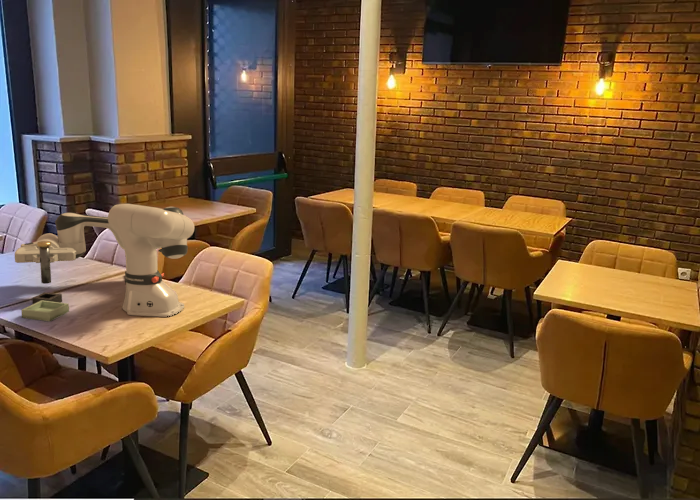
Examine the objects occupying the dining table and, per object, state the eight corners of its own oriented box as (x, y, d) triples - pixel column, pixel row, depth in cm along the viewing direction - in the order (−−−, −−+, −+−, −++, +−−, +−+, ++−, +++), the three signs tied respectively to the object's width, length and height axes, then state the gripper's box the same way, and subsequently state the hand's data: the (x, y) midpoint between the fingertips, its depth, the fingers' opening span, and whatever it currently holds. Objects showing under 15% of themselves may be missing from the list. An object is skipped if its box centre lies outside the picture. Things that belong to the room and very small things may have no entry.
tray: (68, 311, 208) (68, 303, 207) (49, 321, 198) (49, 313, 197) (42, 308, 209) (41, 300, 208) (21, 317, 199) (21, 309, 198)
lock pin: (55, 281, 214) (53, 241, 210) (47, 284, 209) (45, 244, 206) (44, 280, 214) (42, 240, 211) (36, 283, 210) (34, 243, 206)
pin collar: (62, 301, 217) (61, 294, 216) (50, 307, 210) (49, 300, 209) (45, 299, 218) (44, 292, 217) (32, 305, 211) (32, 297, 210)
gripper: (77, 258, 226) (76, 267, 214) (17, 260, 218) (13, 270, 206) (76, 242, 225) (76, 251, 213) (16, 244, 216) (12, 253, 204)
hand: (44, 260), depth 209 cm, fingers closed on lock pin, 3 cm apart
